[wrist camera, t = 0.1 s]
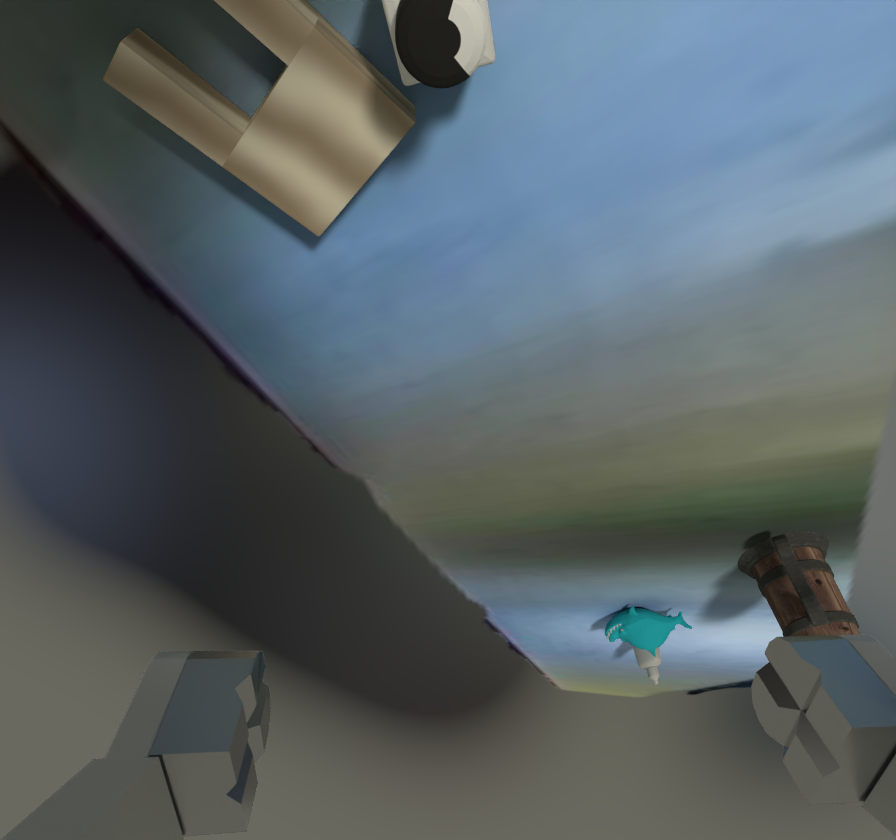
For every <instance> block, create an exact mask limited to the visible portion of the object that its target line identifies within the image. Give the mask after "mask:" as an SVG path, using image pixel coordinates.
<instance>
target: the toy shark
mask: <svg viewBox="0 0 896 840" xmlns="http://www.w3.org/2000/svg"><path fill="white" fill-rule="evenodd" d="M678 623H679V624H681V625H683V626H684V627H686V628H690V629H692V627H691V626H690V625H688V624H687V623H686V622H685V621H684V620H683V618H682V612H680V613H679V614H678V616H676V617H672V616H671V615H669V616H663V615H661V614H658V613H655V612H653V611H650V610H647V609H642V608H634V606H633V607H631V608H630V609H627V610H624V611H622V612H620V613H618V614H617V615H616V616H614V617H613V618H612V619H611V620H610V621H609V622H608V624H607V626H606V629H605V636H607V640H608V642H609V641H610V642H613V641H615V640H616V639H618V638H620V639H621V640H622V641H623V642H629V643H630V644H631V645H633V646H634V647H636V648H639V649H642V650H648V651H649V652H650V653H651V654H652V655H653V656H655V657H656V654H655V650H656V648H658V647H660V646H661V645H662V644H663V643H664V642H665V640H666V639H667V637H668V635H669V633H670V632H671V631H672V630H674V629H675V625H676V624H678Z"/></svg>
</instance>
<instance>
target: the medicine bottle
mask: <svg viewBox="0 0 896 840" xmlns="http://www.w3.org/2000/svg"><path fill="white" fill-rule="evenodd" d="M382 4H383V8H384V12H385V16H386V20H387V24H388V28H389V32H390V36H391V40H392V43H393V47H394V51H395V55H396V59H397V63H398V67H399V71H400V75H401V79H402V82H403V84H404V85H406V86H410V85H413V84H417V83H422V84H424V85H427V86H430V87H434V88H448V87H452V86H455V85H457V84H460V83H461V82H463V81H465V80H466V79H467V78H468V77H470V76H471V75H472V73H473V72H474V71H475V70H476V68H477V67H481V66H484V65H488V64H492V63H493V62H494V61H495V50H494V43H493V37H492V30H491V23H490V16H489V9H488V2H487V0H382Z"/></svg>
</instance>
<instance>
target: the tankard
mask: <svg viewBox="0 0 896 840" xmlns="http://www.w3.org/2000/svg"><path fill="white" fill-rule="evenodd" d="M828 545H829V541H828V539H827V538H826V537H825V536H824V535H822V534H819V533H815V532H804V531H803V532H792V533H786V534H782V535H778V536H774V537H772V538H769V539H766V540H764V541H762V542H759V543H757V544H756V545H754V546H752V547H751V548H749V549H748V550H746V551H745V552H744V553H743V554H742V555H741V557H740V558H739V560H738V568H739V569H740V570H741V571H742V572H744V573H746V574H748V575H749V576H750V577H751V578H753V579H756V580H757V582H758V587H759V589H760V591H761V593H762V595H763V596H764V597H765V598H766V599H767V601H768V603H769V605H770V607H771V609H772V611H773V613H774V615H775V617H776V619H777V621H778V623H779V625H780V627H781V629H782V631H783V636H784V637H790V636H815V635H833V636H836V635H860V632H859V630H858V628H859V625H858V623H857V621H856V619H855V617H854V615H852V614H851V612H850V610H849V608H848V606H847V604H846V602H845V600H844V598H843V596H842V594H841V592H840V590H839V588H838V586H837V584H836V582H835V580H834V574H833V572H832V570H831V568H830V566H829V564H827V563H826V561H825V557H826V555H827V548H828Z"/></svg>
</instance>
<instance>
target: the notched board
mask: <svg viewBox="0 0 896 840" xmlns="http://www.w3.org/2000/svg"><path fill="white" fill-rule="evenodd" d="M214 1H215V2H216V3H217V4H219V5H220V6H221V7H222V8H223V9H224V10H225V11H226V12H228V13H229V14H230V15H231V16H232V17H233V18H234V19H236V20H237V21H238V22H239V23H240V24H241V25H242V26H244V27H245V28H246V29H247V30H248V31H249V32H250V33H251V34H253V35H254V36H255V37H256V38H257V39H258V40H259V41H261V42H262V43H263V44H264V45H265V46H266V47H267V48H268V49H270V50H271V51H272V52H273V53H274V54H275V55H276V56H278V57H279V58H280V59H281V60H282V61H283V62H284V63H285V64H286V66H285V67H284V69H283V70H282V72H281V73H280V75H279V77H278V78H277V80H276V81H275V83H274V84H273V86H272V87H271V89H270V90H269V92H268V93H267V95H266V96H265V98H264V99H263V101H262V102H261V104H260V105H259V107H258V108H257V110H256V112H255V113H254V115H253V116H252V118H251V117H250V116H248V115H247V114H246V113H245V112H243V111H242V110H241V109H240V108H238V107H237V106H236V105H235V104H233V103H232V102H231V101H230V100H228V99H227V98H226V97H225V96H223V95H222V94H221V93H219V92H218V91H217V90H216V89H214V88H213V87H212V86H211V85H209V84H208V83H207V82H206V81H204V80H203V79H202V78H201V77H199V76H198V75H197V74H196V73H194V72H193V71H192V70H191V69H189V68H188V67H187V66H186V65H184V64H183V63H182V62H181V61H179V60H178V59H177V58H176V57H174V56H173V55H172V54H171V53H169V52H168V51H167V50H165V49H164V48H163V47H162V46H160V45H159V44H158V43H157V42H155V41H154V40H153V39H152V38H150V37H149V36H148V35H147V34H145V33H144V32H143V31H142V30H140V29H139V28H138V27H137V28H136V29H135V30H134V31H132V32H131V33H130V34H129V35H128V36H126V37H125V38H124V39H123V40H122V41H121V42H120V44H119V46H118V48H117V50H116V52H115V54H114V56H113V59H112V61H111V63H110V65H109V67H108V69H107V71H106V73H105V75H104V78H103V81H105V82H106V83H108V84H109V85H110V86H112V87H113V88H114V89H116V90H117V91H119V92H120V93H121V94H123V95H124V96H126V97H127V98H128V99H130V100H131V101H132V102H134V103H135V104H137V105H138V106H139V107H141V108H142V109H143V110H145V111H146V112H148V113H149V114H150V115H152V116H153V117H154V118H156V119H157V120H159V121H160V122H161V123H163V124H164V125H165V126H167V127H168V128H170V129H171V130H172V131H174V132H175V133H176V134H178V135H179V136H181V137H182V138H183V139H185V140H186V141H188V142H189V143H190V144H192V145H193V146H194V147H196V148H197V149H199V150H200V151H201V152H203V153H204V154H205V155H207V156H208V157H210V158H211V159H212V160H214V161H215V162H216V163H218V164H219V165H221V166H222V167H223V168H225V169H226V170H227V171H229V172H230V173H232V174H233V175H234V176H236V177H237V178H238V179H240V180H241V181H243V182H244V183H245V184H247V185H248V186H250V187H251V188H252V189H254V190H255V191H256V192H258V193H259V194H261V195H262V196H263V197H265V198H266V199H267V200H269V201H270V202H272V203H273V204H274V205H276V206H277V207H278V208H280V209H281V210H283V211H284V212H285V213H287V214H288V215H289V216H291V217H292V218H294V219H295V220H296V221H298V222H299V223H300V224H302V225H303V226H305V227H306V228H307V229H309V230H310V231H312V232H313V233H314V234H316V235H317V236H318V237H320V235H321V234H322V233H323V232H324V231H325V230H326V228H327V227H328V226H329V225H330V224H331V222H332V221H333V220H334V219H335V218H336V216H337V215H338V214H339V213H340V212H341V211H342V209H343V208H344V207H345V206H346V205H347V203H348V202H349V201H350V200H351V199H352V198H353V196H354V195H355V194H356V193H357V192H358V190H359V189H360V188H361V187H362V186H363V184H364V183H365V182H366V181H367V180H368V179H369V177H370V176H371V175H372V174H373V173H374V171H375V170H376V169H377V168H378V167H379V166H380V164H381V163H382V162H383V161H384V160H385V158H386V157H387V156H388V155H389V154H390V152H391V151H392V150H393V149H394V148H395V147H396V145H397V144H398V143H399V142H400V141H401V139H402V138H403V137H404V136H405V135H406V134H407V132H408V131H409V130H410V129H411V128H412V126H413V125H414V124H415V106H414V105H413V104H412V103H411V102H410V101H409V100H408V99H407V98H406V97H405V96H404V95H403V94H402V93H401V92H400V91H399V90H398V89H397V88H396V87H395V86H394V85H393V84H392V83H391V82H390V81H389V80H388V79H386V78H385V77H384V76H383V75H382V74H381V73H380V72H379V71H378V70H377V69H376V68H375V67H374V66H373V65H372V64H371V63H370V62H369V61H368V60H367V59H366V58H365V57H364V56H363V55H362V54H361V53H360V52H359V51H358V50H357V49H355V48H354V47H353V46H352V45H351V44H350V43H349V42H348V41H347V40H346V39H345V38H344V37H343V36H342V35H341V34H340V33H339V32H338V31H337V30H336V29H335V28H334V27H333V26H332V25H331V24H330V23H329V22H328V21H327V20H325V19H324V18H323V17H322V16H321V15H320V14H319V13H318V12H317V11H316V10H315V9H314V8H313V7H312V6H311V5H310V4H309V3H308V2H307V1H306V0H214Z"/></svg>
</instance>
